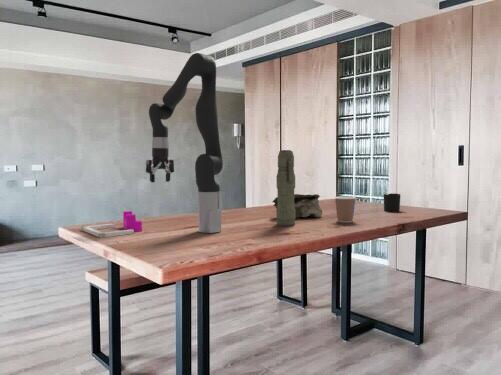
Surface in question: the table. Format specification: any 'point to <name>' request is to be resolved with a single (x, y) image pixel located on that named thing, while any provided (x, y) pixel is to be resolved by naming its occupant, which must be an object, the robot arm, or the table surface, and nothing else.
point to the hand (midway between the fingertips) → (160, 181)
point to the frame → (107, 234)
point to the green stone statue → (285, 189)
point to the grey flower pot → (345, 208)
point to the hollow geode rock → (304, 205)
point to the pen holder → (392, 202)
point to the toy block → (131, 221)
